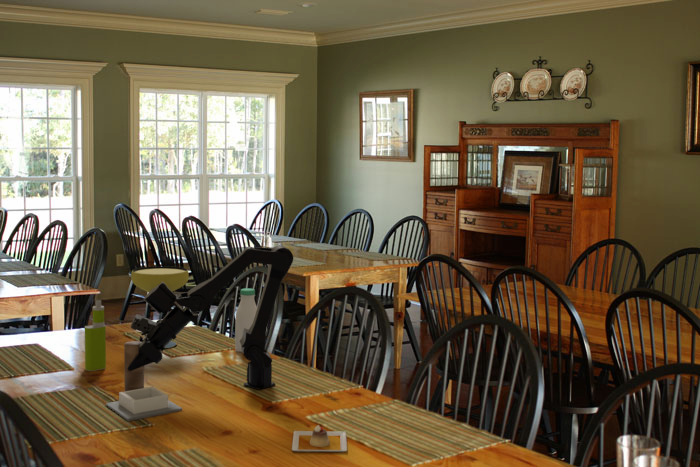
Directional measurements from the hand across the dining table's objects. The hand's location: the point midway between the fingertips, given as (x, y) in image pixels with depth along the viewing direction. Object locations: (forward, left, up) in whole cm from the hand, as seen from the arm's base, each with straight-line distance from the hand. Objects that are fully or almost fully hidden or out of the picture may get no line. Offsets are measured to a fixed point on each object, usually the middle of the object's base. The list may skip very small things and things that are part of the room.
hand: (128, 367), depth 212 cm
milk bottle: (+8, -52, -7) cm, 53 cm away
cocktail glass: (+33, -37, -7) cm, 50 cm away
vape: (+25, -7, -7) cm, 27 cm away
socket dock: (-14, +6, -7) cm, 16 cm away
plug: (-1, -1, -7) cm, 7 cm away
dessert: (-62, -5, -7) cm, 63 cm away
